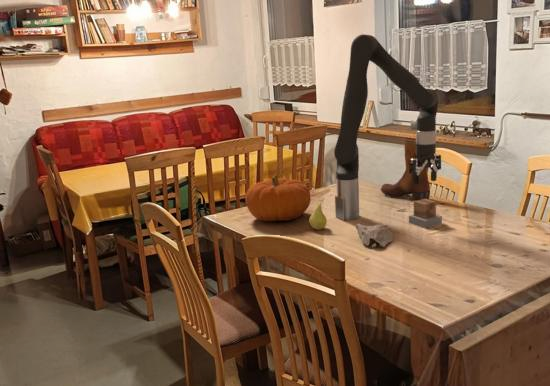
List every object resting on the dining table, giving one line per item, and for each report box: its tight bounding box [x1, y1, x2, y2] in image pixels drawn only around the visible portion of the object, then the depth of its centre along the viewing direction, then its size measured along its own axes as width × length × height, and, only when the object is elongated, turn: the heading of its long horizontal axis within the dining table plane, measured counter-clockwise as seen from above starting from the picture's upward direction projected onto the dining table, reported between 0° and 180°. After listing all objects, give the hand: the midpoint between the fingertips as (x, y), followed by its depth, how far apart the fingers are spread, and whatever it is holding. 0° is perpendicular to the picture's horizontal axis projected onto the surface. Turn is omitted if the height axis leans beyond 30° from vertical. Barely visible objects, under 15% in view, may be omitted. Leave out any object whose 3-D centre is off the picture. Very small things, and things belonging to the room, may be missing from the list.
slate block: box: [408, 213, 443, 229], centre depth 222 cm, size 9×9×4 cm
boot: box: [380, 139, 431, 201], centre depth 256 cm, size 25×9×27 cm, turn 39°
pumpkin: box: [244, 173, 312, 222], centre depth 238 cm, size 28×28×20 cm
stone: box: [355, 223, 394, 249], centre depth 206 cm, size 15×8×15 cm
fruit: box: [308, 198, 328, 231], centre depth 222 cm, size 7×8×12 cm
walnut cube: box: [413, 199, 437, 219], centre depth 220 cm, size 6×6×6 cm
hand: (424, 182), depth 217 cm, fingers open, 8 cm apart
